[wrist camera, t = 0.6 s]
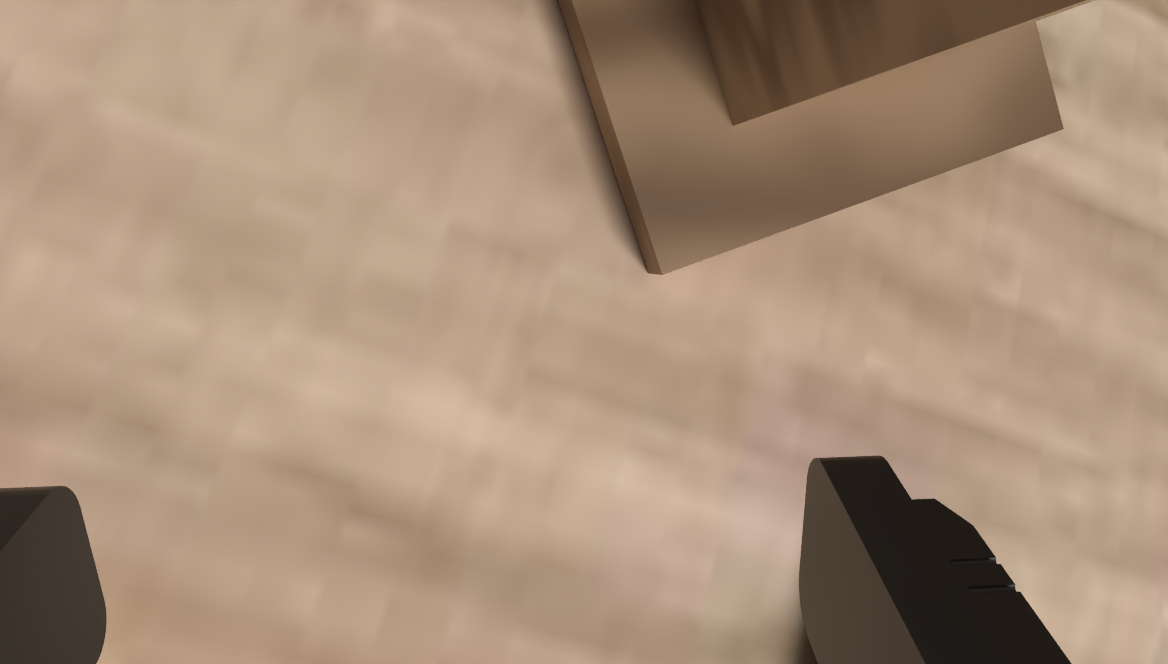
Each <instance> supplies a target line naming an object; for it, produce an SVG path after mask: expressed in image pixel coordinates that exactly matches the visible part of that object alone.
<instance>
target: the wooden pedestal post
mask: <svg viewBox="0 0 1168 664" xmlns="http://www.w3.org/2000/svg"><path fill="white" fill-rule="evenodd" d="M1091 1H1094V0H558V3H559V6H560V9H561V12H562V15H563V18H564V21H565V24H566V27H567V30H568V33H569V36H570V39H571V42H572V45H573V48H574V51H575V54H576V57H577V60H578V63H579V66H580V69H581V72H582V75H583V78H584V81H585V84H586V87H587V90H588V94H589V97H590V100H591V103H592V106H593V109H594V112H595V115H596V118H597V121H598V124H599V127H600V130H601V133H602V136H603V139H604V142H605V145H606V148H607V151H608V154H609V157H610V160H611V163H612V166H613V169H614V172H615V175H616V178H617V181H618V184H619V187H620V190H621V193H622V196H623V199H624V202H625V205H626V208H627V211H628V214H629V217H630V220H631V223H632V226H633V229H634V232H635V235H636V238H637V241H638V244H639V247H640V250H641V253H642V256H643V259H644V262H645V265H646V268H647V271H648V273H651V274H659V275H663V274H666V273H669V272H672V271H674V270H677V269H680V268H683V267H685V266H688V265H691V264H694V263H696V262H699V261H702V260H705V259H707V258H710V257H713V256H716V255H718V254H721V253H724V252H727V251H729V250H732V249H735V248H738V247H740V246H743V245H746V244H749V243H751V242H754V241H757V240H760V239H762V238H765V237H768V236H771V235H773V234H776V233H779V232H782V231H784V230H787V229H790V228H793V227H795V226H798V225H801V224H804V223H806V222H809V221H812V220H815V219H817V218H820V217H823V216H826V215H828V214H831V213H834V212H837V211H839V210H842V209H845V208H848V207H850V206H853V205H856V204H859V203H861V202H864V201H867V200H870V199H872V198H875V197H878V196H881V195H883V194H886V193H889V192H892V191H894V190H897V189H900V188H903V187H905V186H908V185H911V184H914V183H916V182H919V181H922V180H925V179H927V178H930V177H933V176H936V175H938V174H941V173H944V172H947V171H949V170H952V169H955V168H958V167H960V166H963V165H966V164H969V163H971V162H974V161H977V160H980V159H982V158H985V157H988V156H991V155H993V154H996V153H999V152H1002V151H1004V150H1007V149H1010V148H1013V147H1015V146H1018V145H1021V144H1024V143H1026V142H1029V141H1032V140H1035V139H1037V138H1040V137H1043V136H1046V135H1048V134H1051V133H1054V132H1057V131H1059V130H1062V129H1063V125H1062V121H1061V117H1060V113H1059V110H1058V106H1057V102H1056V98H1055V94H1054V91H1053V87H1052V83H1051V79H1050V75H1049V71H1048V68H1047V64H1046V60H1045V56H1044V52H1043V49H1042V45H1041V41H1040V37H1039V33H1038V30H1037V26H1036V22H1035V21H1037V20H1040V19H1043V18H1046V17H1049V16H1051V15H1054V14H1057V13H1060V12H1063V11H1066V10H1069V9H1071V8H1074V7H1077V6H1080V5H1083V4H1086V3H1088V2H1091Z"/></svg>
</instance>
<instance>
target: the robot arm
mask: <svg viewBox="0 0 1168 664" xmlns="http://www.w3.org/2000/svg"><path fill="white" fill-rule="evenodd" d="M799 593H800V604H801V611H802V617H803V622H804V626H805V630H806V633H807V636H808V638H809V641H810V644H811V646H812V649H813V652H814V654H815V657H816V660H817V662H818V664H1071V663H1070V661H1069V660H1068V658H1067V657H1066V656H1065V654H1064V653H1063V651H1062V650H1061V648H1060V647H1059V646H1058V644H1057V643H1056V641H1055V640H1054V639H1053V637H1052V636H1051V634H1050V633H1049V632H1048V630H1047V629H1046V627H1045V626H1044V625H1043V623H1042V622H1041V620H1040V619H1039V618H1038V616H1037V615H1036V613H1035V612H1034V610H1033V609H1032V608H1031V606H1030V605H1029V603H1028V602H1027V601H1026V599H1025V598H1024V596H1023V595H1022V594H1021V592H1016V590H1015V584H1014V582H1013V581H1012V580H1011V578H1010V577H1009V575H1008V574H1007V573H1006V571H1005V570H1004V568H1003V567H1002V565H1001V564H997V563H996V557H995V556H994V554H993V553H992V551H991V550H990V549H989V547H988V546H987V544H986V543H985V542H984V540H983V539H982V537H981V536H980V535H979V533H978V532H977V530H976V529H975V528H974V526H973V525H972V524H970V523H969V522H967V521H966V520H964V519H963V518H962V517H960V516H959V515H957V514H956V513H954V512H953V511H952V510H950V509H949V508H947V507H946V506H944V505H943V504H941V503H940V502H939V501H937V500H936V499H915V500H912V499H911V498H910V496H909V495H908V493H907V492H906V490H905V489H904V487H903V485H902V484H901V482H900V481H899V479H898V478H897V476H896V474H895V473H894V471H893V470H892V468H891V467H890V465H889V463H888V462H887V461H886V459H885V458H884V457H882V456H857V457H832V458H815V459H813V460H812V461H811V463H810V466H809V469H808V475H807V485H806V497H805V509H804V522H803V534H802V546H801V558H800V571H799ZM105 632H106V607H105V601H104V597H103V593H102V589H101V585H100V582H99V578H98V574H97V570H96V566H95V562H94V558H93V554H92V551H91V547H90V543H89V539H88V535H87V531H86V527H85V523H84V520H83V516H82V512H81V508H80V505H79V502H78V500H77V498H76V496H75V494H74V493H73V491H71V490H70V489H69V488H67V487H65V486H49V487H24V488H0V664H96V663H97V661H98V659H99V657H100V654H101V651H102V647H103V644H104V639H105Z"/></svg>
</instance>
